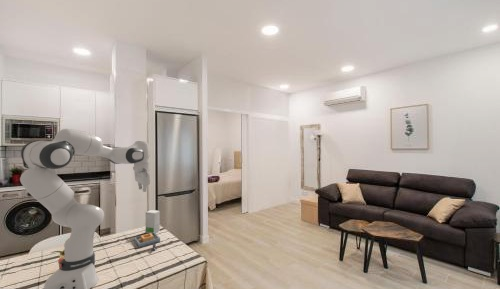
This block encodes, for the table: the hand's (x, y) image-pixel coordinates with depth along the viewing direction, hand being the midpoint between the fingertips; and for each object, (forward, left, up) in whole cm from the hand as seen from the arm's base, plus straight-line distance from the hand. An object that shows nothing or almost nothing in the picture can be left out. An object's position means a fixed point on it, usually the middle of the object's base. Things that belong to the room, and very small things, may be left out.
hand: (142, 190), depth 140 cm
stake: (+6, 0, -38) cm, 39 cm away
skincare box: (+14, +31, -39) cm, 51 cm away
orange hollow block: (+6, +16, -38) cm, 41 cm away
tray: (+6, +16, -38) cm, 42 cm away
